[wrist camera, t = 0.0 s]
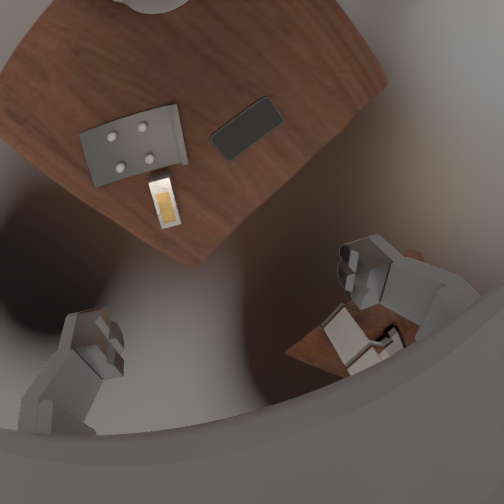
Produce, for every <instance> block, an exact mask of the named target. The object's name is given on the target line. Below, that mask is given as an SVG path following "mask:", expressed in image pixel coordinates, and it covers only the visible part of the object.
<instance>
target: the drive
mask: <svg viewBox="0 0 504 504" xmlns="http://www.w3.org/2000/svg"><path fill="white" fill-rule="evenodd" d="M149 187H150V190H151V194H152V197H153V201H154V204H155V208H156V211H157V214H158V218H159V221H160V224H161V227H162V229H164V228H168V227H172V226H175V225H179V224H181V218H180V210H179V206H178V202H177V198H176V194H175V190H174V186H173V182H172V178H171V174H170V170H169V169H166V170H163V171H159V172H155V173H152V174H150V179H149Z"/></svg>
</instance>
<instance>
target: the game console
mask: <svg viewBox="0 0 504 504" xmlns="http://www.w3.org/2000/svg"><path fill="white" fill-rule="evenodd" d="M384 335H385V337H384V338H383V339H382V340H381V341H379V342H381V343H382V345H383V346H384V348H385V349H386V351H387V352H388V354H389V355H390V356H392V355H394V354H396V353H397V352H399V351H401V350H403V349H405V348H406V345H405V343H404V340H403V337H402V335H401V332H400V330H399V328H398V327H397V326H395V327H394V326H393V325H392V326H391V327H390V328H389V329H388V330H386V331H385V332H384Z"/></svg>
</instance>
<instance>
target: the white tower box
mask: <svg viewBox="0 0 504 504" xmlns="http://www.w3.org/2000/svg"><path fill="white" fill-rule="evenodd" d="M358 313H359V311H358V310H357V309H356V308H353V307H351V306H348V305H345V304H343V303H341V304H340V305H339V306H338V307H337V308H336V310H335V311H334V312H333V313H332V314H331V315H330V316H329V317H328V318H327V319H326V320H325V321H324V322H323V323H322V324H321V326H322V327H323V329H324V331H325V332H326V334H327V336H328V337H329V339H330V341H331V342H332V344H333V346H334V348H335V349H336V351H337V353H338V354H339V356H340V358H341V360H342V361H343V363H344V365H345V366H346V368H347V370H348V372H349V373H350V375H353V374H356V373H358V372H360V371H362V370H364V369H366V368H368V367H370V366H372V365H374V364H376V363H378V362H380V361H382V360H384V359H386V358H388V357H390V355H389V354H388V352H387V351H386V349H385V348H384V346H383V345H382V343H381V342H376V341H372V340H368V338H367V337H366V335H365V334H364V333H363V331H362V330H361V328H360V327H359V326H358V324H357V323H356V322H355V320H354V317H355V316H356V315H357V314H358Z"/></svg>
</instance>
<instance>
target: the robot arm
mask: <svg viewBox="0 0 504 504" xmlns="http://www.w3.org/2000/svg"><path fill="white" fill-rule="evenodd" d="M113 1H115V2H119V3H124V4H126V5H128V6H129V7H130V8H131V9H133V10H135V11H137V12H140V13H145V14H160V13H165V12H169V11H172V10H174V9H176V8H178V7H180V6H182V5H183V4H185V3H186V2H187V1H188V0H113ZM339 255H340V256H341V258H342V260H341V261H340V263H339V264H338V276H339V280H340V282H341V284H342V286H343V287H344V288H345V289H346V290H348V291H351V292H352V295H351V298H352V299H353V300H354V302H355V303H356V304H357V306H358V307H359V308H360V310H362V309H365V308H367V307H370V306H373V305H375V304H378V303H380V304H381V305H383V306H385V307H387V308H388V309H390V310H392V311H394V312H396V313H398V314H399V315H401V316H403V317H405V318H407V319H408V320H410V321H412V322H414V323H416V324H417V325H419V326H420V328H419V330H418V332H417V334H416V337H415V339H416V341H417V342H415V343H413V344H412V345H410V346H408V347H406V348H405V349H403V350H401V351H399V352H397V353H396V354H394V355H392V356H390V357H388V358H386V359H384V360H382V361H380V362H378V363H376V364H374V365H372V366H370V367H368V368H366V369H364V370H362V371H360V372H358V373H356V374H353V375H351V376H349V377H347V378H345V379H343V380H340V381H338V382H335V383H333V384H330V385H328V386H326V387H323V388H321V389H318V390H315V391H313V392H310V393H307V394H305V395H302V396H299V397H296V398H294V399H291V400H288V401H285V402H282V403H279V404H276V405H272V406H269V407H266V408H263V409H259V410H256V411H252V412H248V413H245V414H241V415H237V416H233V417H229V418H225V419H221V420H216V421H212V422H207V423H202V424H197V425H191V426H186V427H180V428H174V429H167V430H159V431H151V432H142V433H131V434H116V435H96V431H95V430H94V429H92V428H91V427H89V426H87V425H86V424H84V421H85V418H86V416H87V414H88V412H89V410H90V408H91V405H92V403H93V401H94V399H95V397H96V395H97V393H98V391H99V389H100V387H101V385H102V383H103V380H105V379H111V378H117V377H122V376H124V360H123V358H122V357H121V356H120V355H121V353H122V351H123V350H124V339H123V334H122V332H121V329H120V327H119V326H118V324H117V323H115V322H113V321H111V314H110V312H109V311H108V309H107V308H105V307H101V308H96V309H92V310H86V311H82V312H78V313H74V314H69V315H68V316H67V317H66V320H65V323H64V328H63V331H62V336H61V340H60V344H59V349H58V352H54V354H53V355H52V356H51V358H50V359H49V360H48V362H47V363H46V364H45V366H44V367H43V368H42V370H41V371H40V373H39V374H38V375H37V377H36V378H35V380H34V381H33V382H32V384H31V385H30V387H29V388H28V390H27V391H26V393H25V394H24V396H23V397H22V399H21V407H20V413H19V421H18V431H17V430H10V429H4V428H0V504H504V279H503V280H502V281H501V282H500V283H498V284H497V285H496V286H495V287H494V288H492V289H491V290H490V291H489V292H488V293H486V294H485V295H484V296H483V297H481V296H480V295H479V294H478V293H477V292H476V291H475V290H474V289H473V288H472V287H471V286H470V285H469V284H468V283H467V282H466V281H465V280H464V279H463V278H462V277H461V276H459V275H456V274H453V273H451V272H448V271H445V270H443V269H440V268H437V267H434V266H432V265H429V264H426V263H423V262H420V261H418V260H415V259H412V258H409V257H407V258H404V257H403V256H402V255H401V254H400V253H399V252H398V251H397V250H396V249H394V248H393V247H392V246H391V245H390V244H389V243H388V242H387V241H386V240H384V239H383V238H382V237H381V236H380V235H377V234H375V235H372V236H369V237H366V238H364V239H361V240H357V241H353V242H350V243H347V244H344V245H342V246H341V248H340V252H339Z"/></svg>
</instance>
